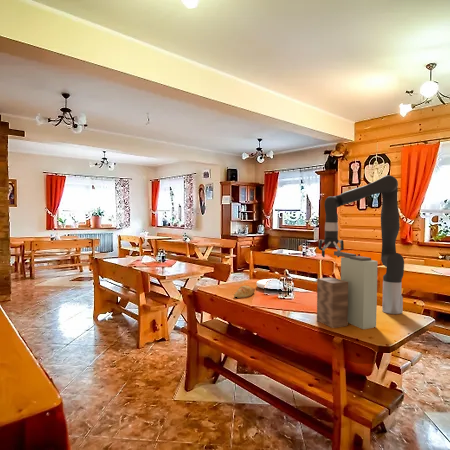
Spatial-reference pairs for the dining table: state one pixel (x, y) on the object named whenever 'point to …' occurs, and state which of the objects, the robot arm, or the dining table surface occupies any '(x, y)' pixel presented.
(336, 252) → the spatula
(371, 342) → the dining table surface
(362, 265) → the tall pale grey box
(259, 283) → the plate
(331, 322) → the wood grain box
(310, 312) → the dining table surface
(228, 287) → the dining table surface
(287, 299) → the dining table surface
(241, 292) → the tan rounded lump
